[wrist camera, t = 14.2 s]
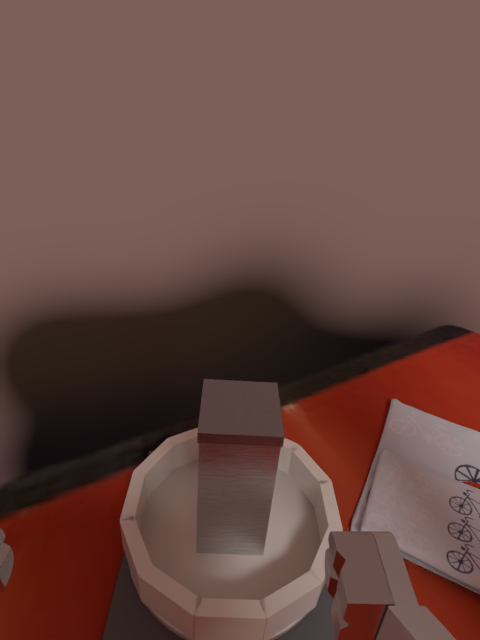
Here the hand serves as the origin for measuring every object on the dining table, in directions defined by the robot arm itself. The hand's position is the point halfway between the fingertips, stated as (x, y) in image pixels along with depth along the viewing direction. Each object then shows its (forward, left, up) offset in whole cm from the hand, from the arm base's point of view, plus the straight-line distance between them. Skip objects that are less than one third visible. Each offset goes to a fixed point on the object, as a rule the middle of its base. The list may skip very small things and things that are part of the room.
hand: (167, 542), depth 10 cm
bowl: (-2, -14, -21) cm, 25 cm away
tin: (-2, -14, -20) cm, 25 cm away
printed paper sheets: (-25, -19, -22) cm, 39 cm away
